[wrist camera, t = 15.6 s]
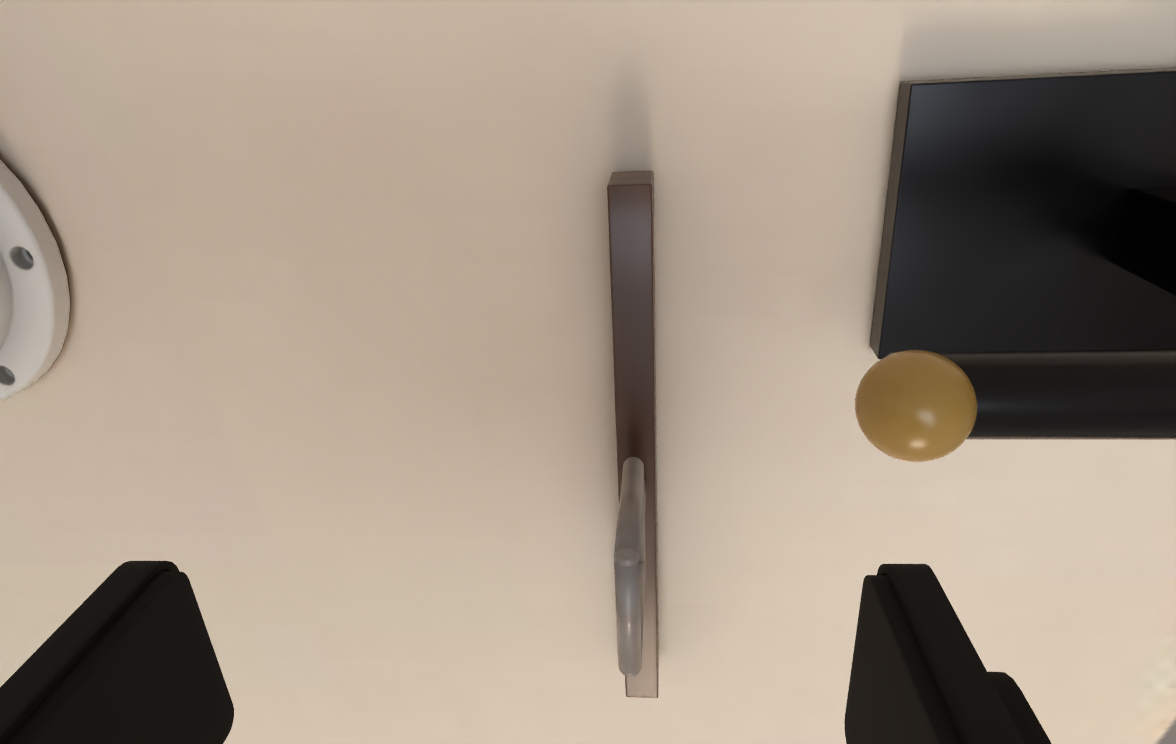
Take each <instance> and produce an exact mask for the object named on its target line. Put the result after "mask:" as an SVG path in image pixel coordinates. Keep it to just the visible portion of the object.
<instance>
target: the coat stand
mask: <svg viewBox="0 0 1176 744" xmlns="http://www.w3.org/2000/svg"><path fill="white" fill-rule="evenodd" d="M870 347H871V348H872V350H873V351H874V353H875V355H876V356H877V358H878V359H881V360H880V361H878V362H877V363H875V364H874V365H873V366H872V367H871V368H870V369H869V370H868V371H867V373H866V374H865V375H864V377H863V378H862V380H861V382H860V384H859V387H858V389H857V393H856V398H855V411H856V417H857V420H858V423H859V426H860V428H861V430H862V432H863V433H864V435H865V436H866V438H867V439H868V440H869V441H870V442H871V443H872V444H873V445H874V446H875V447H876V448H878V449H879V450H880V451H882V452H884V453H885V454H887V455H889V456H891V457H894V458H897V459H900V460H904V461H910V462H923V461H930V460H935V459H938V458H941V457H943V456H945V455H947V454H949V453H951V452H953V451H954V450H955V449H957V448H958V447H959V446H960V445H961V444H962V443H963V442H964V441H965V440H966V439H1176V68H1157V69H1137V70H1118V71H1098V72H1078V73H1058V74H1038V75H1019V76H999V77H979V78H959V79H940V80H920V81H902V82H901V83H900V89H899V97H898V106H897V115H896V124H895V132H894V141H893V150H892V158H891V167H890V176H889V185H888V193H887V202H886V211H885V220H884V228H883V237H882V246H881V255H880V263H879V272H878V281H877V290H876V298H875V307H874V316H873V324H872V333H871V342H870Z"/></svg>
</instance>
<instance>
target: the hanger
mask: <svg viewBox="0 0 1176 744" xmlns="http://www.w3.org/2000/svg"><path fill="white" fill-rule="evenodd" d="M607 192H608V219H609V247H610V274H611V301H612V329H613V356H614V383H615V411H616V438H617V465H618V493H619V512H618V522H617V533H616V543H615V553H614V569H615V593H616V617H617V641H618V665H619V669H620V671H621V673H622V674H623V675H625V684H626V696H627V697H646V698H658V668H659V642H658V548H657V454H656V360H655V265H654V173H653V171H633V172H613V173H612V176H611V179H610V181H609V184H608V187H607Z"/></svg>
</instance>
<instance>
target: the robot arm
mask: <svg viewBox="0 0 1176 744" xmlns="http://www.w3.org/2000/svg"><path fill="white" fill-rule="evenodd" d="M69 312H70V297H69V289H68V282H67V274H66V271H65V268H64V264H63V261H62V258H61V255H60V252H59V249H58V245H57V243H56V241H55V239H54V237H53V235H52V233H51V231H50V229H49V227H48V225H47V223H46V221H45V219H44V217H43V215H42V213H41V211H40V209H39V208H38V207H37V205H36V204H35V202H34V201H33V199H32V198H31V196H30V195H29V194H28V192H27V191H26V189H25V188H24V186H23V185H22V183H21V182H20V181H19V180H18V178H17V177H16V176H15V175H14V174H13V173H12V172H11V171H10V170H9V169H8V167H7V166H6V165H5V164H4V163H3V162H2V161H1V160H0V401H1V400H4V399H7V398H9V397H11V396H12V395H14V394H16V393H18V392H20V391H21V390H23V389H25V388H27V387H29V386H30V385H32V384H33V383H34V382H36V381H37V380H38V379H39V378H40V377H41V376H42V375H44V374H45V373H46V372H47V371H48V370H49V369H50V367H51V366H52V364H53V363H54V361H55V360H56V358H57V357H58V355H59V354H60V352H61V350H62V347H63V343H64V340H65V337H66V334H67V331H68V326H69ZM233 718H234V708H233V703H232V700H231V698H230V695H229V692H228V689H227V686H226V683H225V681H224V678H223V675H222V672H221V669H220V666H219V663H218V661H217V658H216V655H215V652H214V649H213V646H212V644H211V641H210V638H209V635H208V632H207V629H206V626H205V624H204V621H203V618H202V615H201V612H200V609H199V607H198V604H197V601H196V598H195V595H194V592H193V589H192V587H191V584H190V581H189V579H188V577H187V575H186V574H185V573H183V572H179V570H178V568H177V566H176V565H175V564H174V563H172V562H169V561H128V562H125V563H123V564H122V565H120V566H119V567H118V568H117V569H116V570H115V571H114V572H113V573H112V574H111V575H110V576H109V577H108V578H107V579H106V580H105V581H104V582H103V583H102V584H101V585H100V586H99V587H98V588H97V589H96V590H95V591H94V592H93V593H92V594H91V595H90V596H89V597H88V598H87V599H86V600H85V601H84V602H83V604H82V605H81V606H80V607H79V608H78V609H77V610H76V611H75V612H74V613H73V614H72V615H71V616H70V617H69V618H68V619H67V620H66V621H65V622H64V623H63V624H62V625H61V626H60V627H59V628H58V629H57V630H56V631H55V632H54V633H53V634H52V635H51V636H50V637H49V638H48V639H47V640H46V641H45V642H44V643H43V644H42V645H41V646H40V647H39V649H38V650H37V651H36V652H35V653H34V654H33V655H32V656H31V657H30V658H29V659H28V660H27V661H26V662H25V663H24V664H23V665H22V666H21V667H20V668H19V669H18V670H17V671H16V672H15V673H14V674H13V675H12V676H11V677H10V678H9V679H8V680H7V681H6V682H5V683H4V684H3V685H2V686H1V687H0V744H223V743H224V741H225V739H226V738H227V736H228V734H229V732H230V730H231V727H232V724H233ZM845 736H846V743H847V744H1051V742H1050V740H1049V738H1048V737H1047V735H1046V733H1045V731H1044V730H1043V728H1042V726H1041V724H1040V723H1039V721H1038V719H1037V717H1036V716H1035V714H1034V712H1033V710H1032V709H1031V707H1030V705H1029V703H1028V702H1027V700H1026V698H1025V696H1024V695H1023V693H1022V691H1021V690H1020V688H1019V687H1018V685H1017V684H1016V683H1015V681H1014V680H1013V679H1012V678H1011V677H1010V676H1009V675H1007V674H1006V673H1004V672H987V671H986V669H985V667H984V665H983V663H982V661H981V660H980V658H979V656H978V654H977V652H976V650H975V648H974V647H973V645H972V643H971V641H970V639H969V637H968V635H967V634H966V632H965V630H964V628H963V626H962V624H961V622H960V620H959V619H958V617H957V615H956V613H955V611H954V609H953V607H952V606H951V604H950V602H949V600H948V598H947V596H946V594H945V593H944V591H943V589H942V587H941V585H940V583H939V581H938V580H937V578H936V576H935V574H934V572H933V571H932V569H931V568H930V566H928V565H926V564H882V565H880V567H879V569H878V573H877V575H867V576H865V578H864V582H863V588H862V595H861V602H860V610H859V617H858V625H857V632H856V639H855V647H854V654H853V662H852V669H851V676H850V684H849V691H848V699H847V706H846V713H845Z"/></svg>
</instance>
